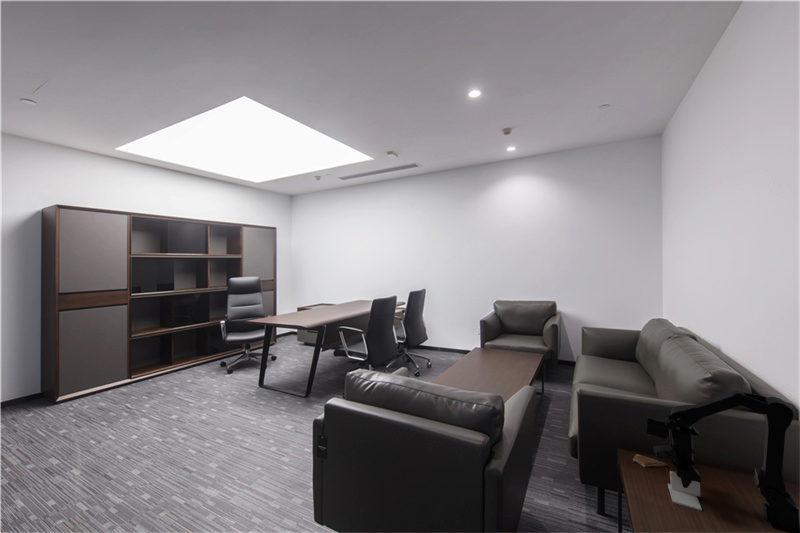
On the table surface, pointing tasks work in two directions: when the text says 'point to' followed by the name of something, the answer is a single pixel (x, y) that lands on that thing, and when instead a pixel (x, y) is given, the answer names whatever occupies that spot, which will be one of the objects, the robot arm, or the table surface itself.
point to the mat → (684, 499)
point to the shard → (647, 461)
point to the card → (677, 485)
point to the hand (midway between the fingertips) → (684, 486)
